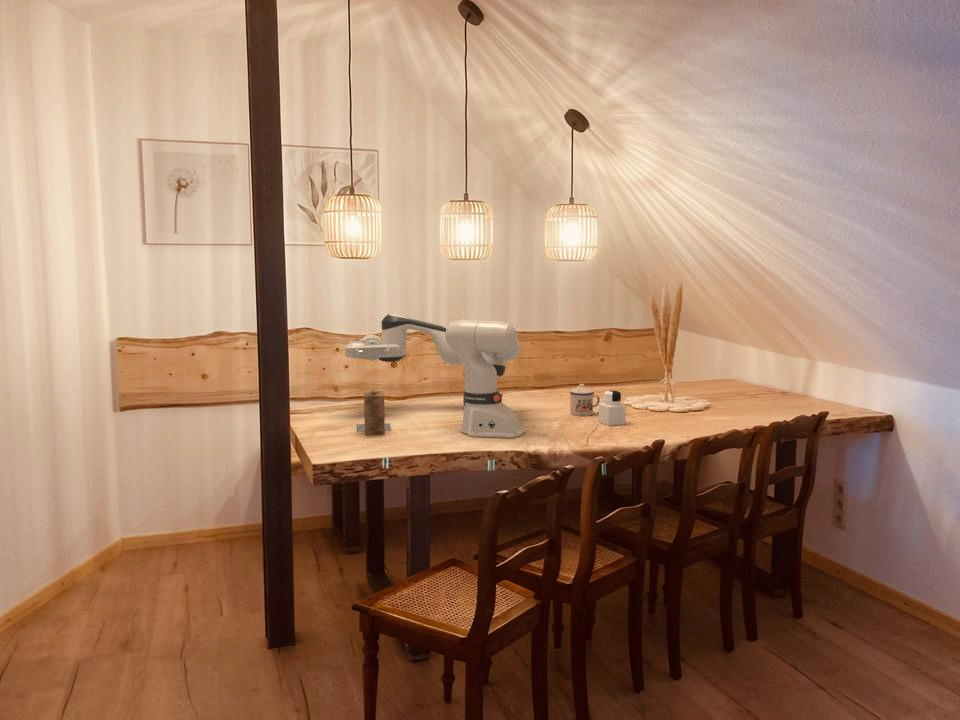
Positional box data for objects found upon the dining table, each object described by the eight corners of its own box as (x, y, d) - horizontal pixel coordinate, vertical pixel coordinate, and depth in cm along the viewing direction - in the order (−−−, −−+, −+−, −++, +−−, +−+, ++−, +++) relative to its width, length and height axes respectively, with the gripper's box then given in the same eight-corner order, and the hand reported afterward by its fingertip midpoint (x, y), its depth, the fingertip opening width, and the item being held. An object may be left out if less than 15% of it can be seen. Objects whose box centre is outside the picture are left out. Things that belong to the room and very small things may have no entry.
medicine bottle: (615, 420, 303) (616, 389, 301) (625, 424, 296) (626, 392, 294) (598, 422, 300) (599, 390, 299) (608, 426, 294) (608, 393, 292)
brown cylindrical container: (383, 430, 285) (383, 387, 282) (384, 435, 279) (384, 392, 275) (364, 430, 284) (363, 388, 281) (365, 436, 277) (364, 393, 274)
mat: (389, 424, 296) (389, 423, 296) (391, 431, 284) (391, 430, 284) (356, 425, 294) (356, 424, 294) (356, 432, 282) (356, 431, 282)
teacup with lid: (574, 416, 310) (575, 386, 308) (566, 412, 318) (566, 382, 317) (604, 415, 313) (604, 385, 311) (594, 410, 321) (595, 381, 320)
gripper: (399, 355, 312) (402, 360, 299) (345, 357, 309) (345, 362, 296) (399, 339, 312) (401, 343, 298) (345, 341, 308) (345, 345, 295)
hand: (373, 352), depth 297 cm, fingers open, 8 cm apart
